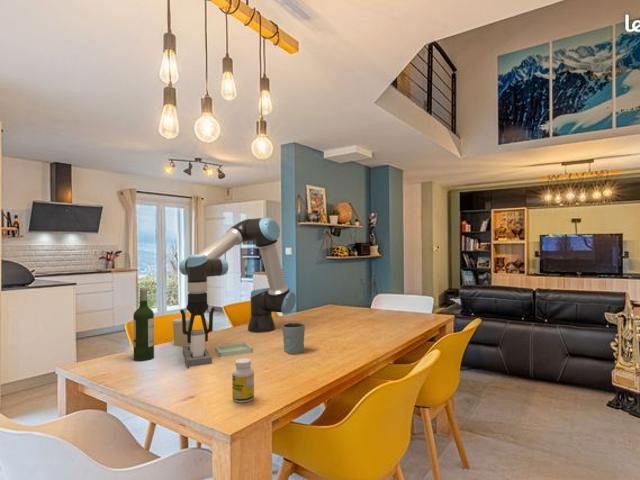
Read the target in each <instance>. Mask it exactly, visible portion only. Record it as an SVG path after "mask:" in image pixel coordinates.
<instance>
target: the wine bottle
mask: <svg viewBox="0 0 640 480" xmlns="http://www.w3.org/2000/svg"><path fill="white" fill-rule="evenodd" d="M147 291H148V288H147V287H146V286H145V287H140V289H139V306H138V308H137V309H136V310H134V313H133V316H132V317H133V319H132V320H133V321H132V322H133V323H132V324H133V327H132V328H133V361H134V362H135V361H136V362H146V361H150V360H152V359H154V358H155V320H154V319H155V317H154V316H155V314H154V310H152V309H151V308H150V307H149V306H148V305H149V304H148V292H147Z"/></svg>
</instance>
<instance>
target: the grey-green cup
mask: <svg viewBox="0 0 640 480" xmlns="http://www.w3.org/2000/svg"><path fill="white" fill-rule="evenodd" d="M281 327H282V329H281V330H282V337H283V352H284V353H285V354H287V355H290V356H291V355H293V356H295V355H301V354H303V353H304V351H305V344H304V343H305V342H304V341H305V333H306V332H305V330H306V324H305V323H303V322H287V323H286V322H285V323H283V324H282V326H281Z"/></svg>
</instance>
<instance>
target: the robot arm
mask: <svg viewBox="0 0 640 480" xmlns="http://www.w3.org/2000/svg"><path fill="white" fill-rule="evenodd" d="M280 232H281V230H280V226H279V223H278V222H277V220H275V219H274V218H272V217H258V218H247V219H244V220H241V221H239V222H238V223H236V224H234V225H233V226H231V227H230V228H228V229H227V231H226V233H225V234H223V235H221V236H220V237H219V238H217V240H215V241H213V242H212V243H211V244H209V245H208V246H207V247H205V248H203V249H202V250H200V251H199V252H198V253H197V254H188V256H187V258H184V259H182V260H181V261H180V262H179V267H178V268H179V272H180V274H182V275H183V276H187V305H186V306H185V307H184V308H181V309H180V310H179V312H180V314H181V318H182V331H183V334H186V335H187V342H188V343H190V351H191V352H193V335H192V334H191V332H192V330H193V325H194V321H195V317H197V316H200V318H201V323H202V329H203V338H204V350H205V347H206V342H208V341H209V333H211V332H213V329H214V328H213V324H214V312H215V307H214V306H210V305H209V304H208V292H207V291H208V278H210V277H221V276H225V275H226V274H227V273H228V271H229V263H228V261H227V260H226V259H224V258H221V257H222V256H223V255H225V254H227V252H228V251H230V250H231V249H232V248H234V247H235V246H239V245H241V244H242V243H244V242H254V244H255V247H256V248H258V249H259V252H260V256H261V259H262V263H263V267H264V271H265V274H266V279H267V282H268V286H269V287H265V288H258V289H253V290H251V292H250V318H249V322H248V325H247V331H248V332H250V333H266V332H273V331H274V330H275V329H276V326H275V325H276V324H275V321H274V318H273V314H272V313H281V314H287V313H288V314H289V313H291V312H292V311H293V309H294V308H295V307H296V300H297V297H296V293H295V292H294V291H291V290H290V286H289V285H287V284H286V282H285V278H284V274H283V273H284V272H283V270H282V266H281V262H280V257H279V254H278V249H277V243H278V239H279V237H280V235H281V234H280ZM207 310H208V325H207V322H206V318H205V313H206V311H207ZM187 312H188V313H190V317H189V318H190V322H189V327H188V331H186V318H187V317H186V314H187Z"/></svg>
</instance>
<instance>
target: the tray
mask: <svg viewBox="0 0 640 480" xmlns="http://www.w3.org/2000/svg"><path fill="white" fill-rule="evenodd" d="M214 350H215V352H216V354H217V355H218V356H219V357H220V358H223V357H230V356H231V357H232V356H235V355H244V354H252V353H253V348H252V346H250V344H248V343H247V342H246V341H245V342H239V343H237V342H236V343H230V344H223V345H215V346H214Z"/></svg>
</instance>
